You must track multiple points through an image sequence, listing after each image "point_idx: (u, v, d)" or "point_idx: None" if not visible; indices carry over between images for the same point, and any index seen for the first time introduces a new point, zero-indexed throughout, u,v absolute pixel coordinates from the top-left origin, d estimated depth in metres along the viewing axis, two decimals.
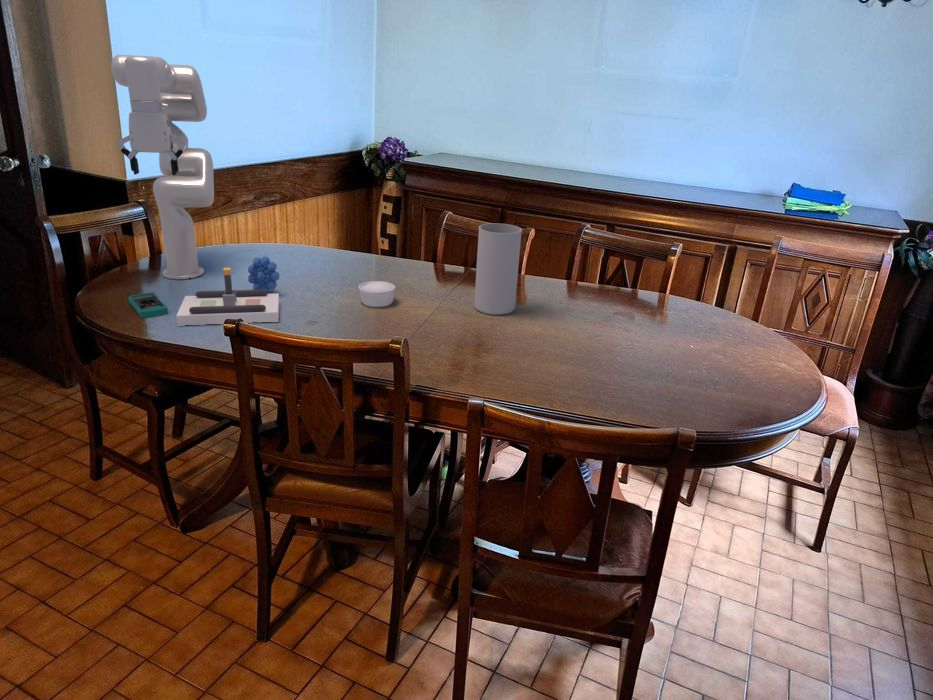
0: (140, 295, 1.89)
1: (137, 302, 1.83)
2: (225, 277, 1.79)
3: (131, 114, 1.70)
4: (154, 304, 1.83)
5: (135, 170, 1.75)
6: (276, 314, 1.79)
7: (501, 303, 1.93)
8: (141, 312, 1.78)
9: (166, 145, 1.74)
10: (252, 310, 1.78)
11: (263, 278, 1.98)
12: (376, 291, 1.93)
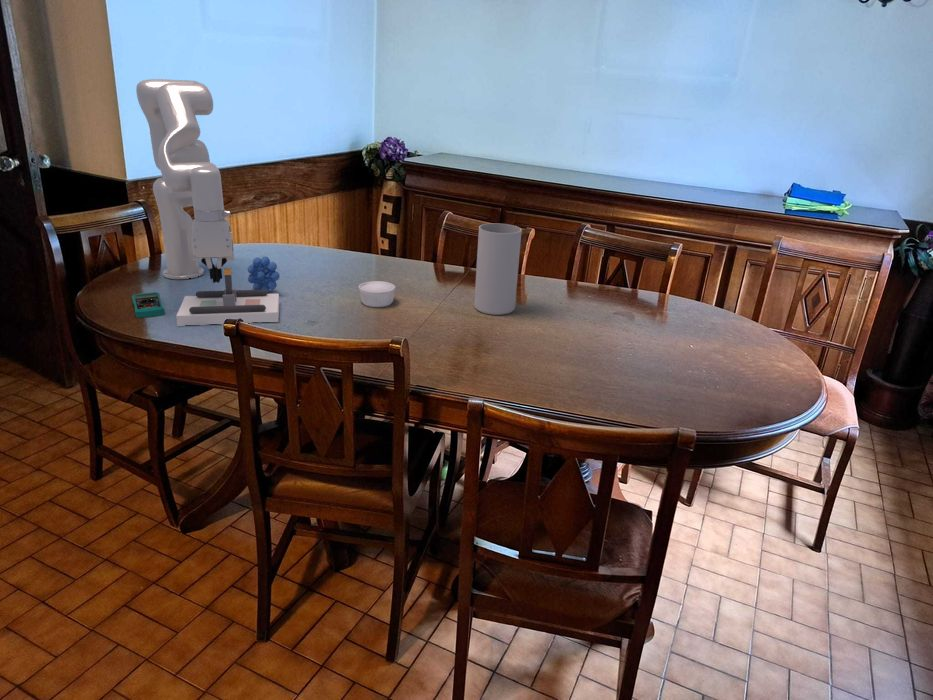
0: (144, 294, 1.89)
1: (137, 301, 1.84)
2: (226, 277, 1.79)
3: (195, 223, 1.70)
4: (152, 304, 1.82)
5: (214, 279, 1.78)
6: (276, 314, 1.79)
7: (501, 303, 1.93)
8: (137, 312, 1.78)
9: (228, 251, 1.75)
10: (252, 310, 1.78)
11: (263, 278, 1.98)
12: (376, 291, 1.93)
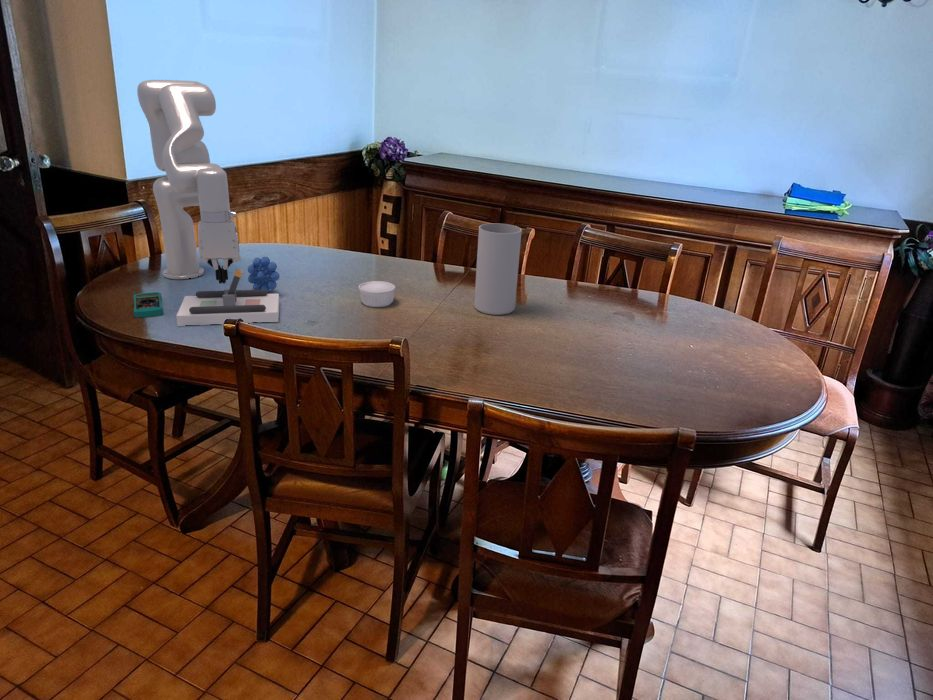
0: (145, 294, 1.90)
1: (137, 301, 1.84)
2: (234, 278, 1.80)
3: (201, 224, 1.71)
4: (152, 304, 1.82)
5: (220, 280, 1.78)
6: (276, 314, 1.79)
7: (501, 303, 1.93)
8: (135, 312, 1.78)
9: (234, 252, 1.76)
10: (252, 310, 1.78)
11: (263, 278, 1.98)
12: (376, 291, 1.93)
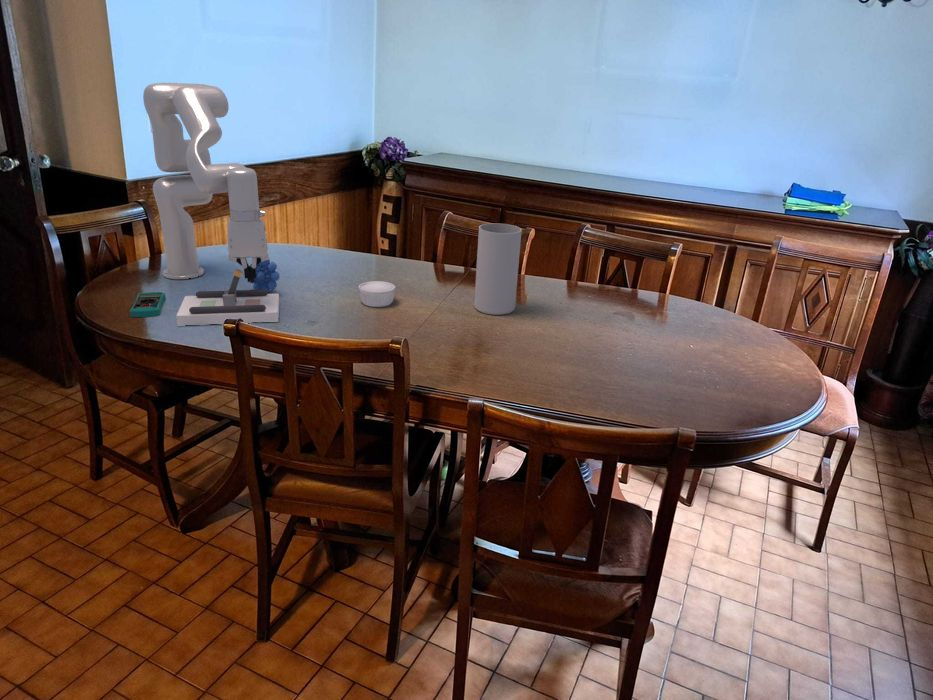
0: (149, 293, 1.90)
1: (138, 300, 1.85)
2: (234, 278, 1.80)
3: (231, 223, 1.73)
4: (150, 304, 1.82)
5: (249, 278, 1.80)
6: (276, 314, 1.79)
7: (501, 303, 1.93)
8: (131, 311, 1.78)
9: (263, 250, 1.77)
10: (252, 310, 1.78)
11: (263, 278, 1.98)
12: (376, 291, 1.93)
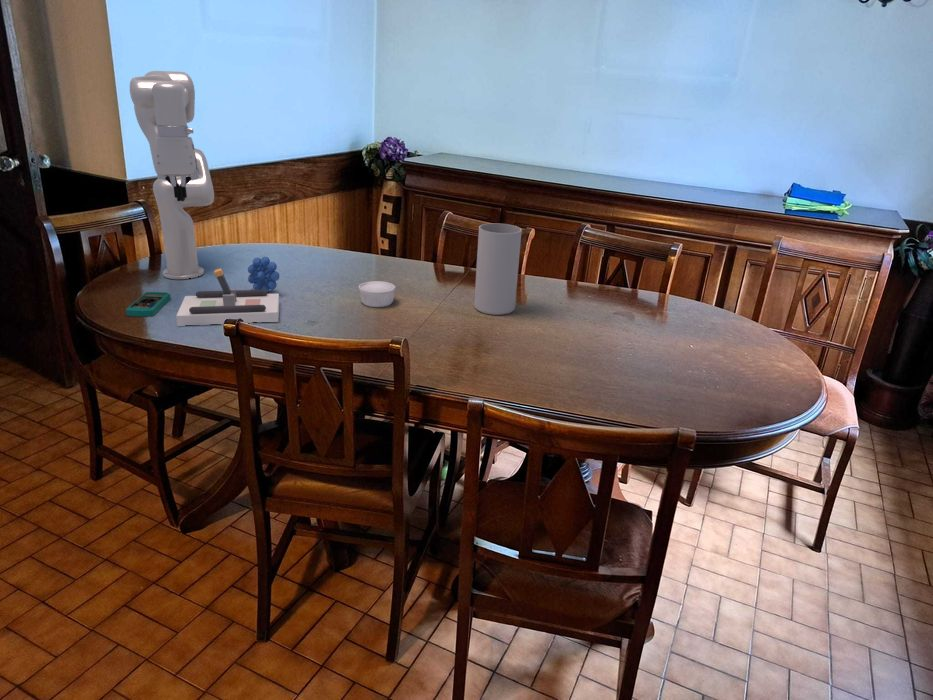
0: (155, 293, 1.91)
1: (140, 299, 1.85)
2: (218, 279, 1.79)
3: (158, 139, 1.74)
4: (147, 304, 1.82)
5: (178, 197, 1.81)
6: (276, 314, 1.79)
7: (501, 303, 1.93)
8: (127, 310, 1.79)
9: (191, 168, 1.79)
10: (252, 310, 1.78)
11: (263, 278, 1.98)
12: (377, 291, 1.93)
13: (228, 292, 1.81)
